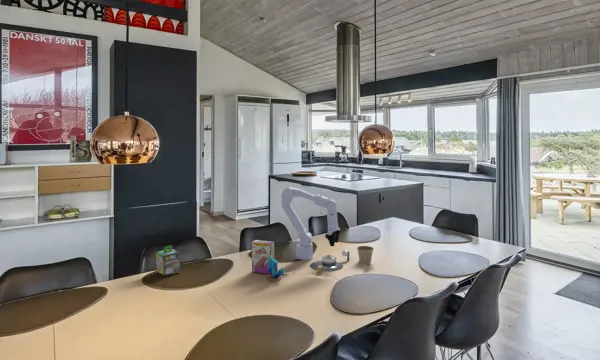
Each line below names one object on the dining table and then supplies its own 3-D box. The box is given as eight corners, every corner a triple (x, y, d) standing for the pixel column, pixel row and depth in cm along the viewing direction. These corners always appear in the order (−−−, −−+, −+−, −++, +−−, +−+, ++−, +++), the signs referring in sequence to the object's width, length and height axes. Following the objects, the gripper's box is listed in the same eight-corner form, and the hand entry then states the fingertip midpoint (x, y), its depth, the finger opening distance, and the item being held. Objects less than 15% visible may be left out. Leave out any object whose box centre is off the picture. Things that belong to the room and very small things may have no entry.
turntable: (303, 271, 192) (302, 265, 191) (316, 259, 211) (316, 254, 210) (336, 276, 185) (336, 269, 185) (346, 263, 204) (346, 257, 204)
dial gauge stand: (342, 262, 208) (342, 250, 208) (343, 260, 212) (343, 248, 211) (350, 263, 206) (350, 251, 206) (352, 261, 210) (352, 249, 209)
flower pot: (373, 266, 201) (373, 250, 200) (356, 265, 203) (356, 250, 202) (373, 261, 210) (373, 246, 209) (357, 260, 212) (357, 245, 211)
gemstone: (270, 283, 178) (270, 259, 177) (264, 277, 186) (264, 254, 185) (284, 280, 181) (284, 257, 180) (278, 275, 189) (278, 252, 187)
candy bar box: (251, 272, 193) (250, 242, 191) (255, 269, 198) (255, 239, 196) (271, 274, 189) (270, 243, 188) (275, 271, 194) (274, 241, 192)
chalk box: (172, 268, 200) (171, 242, 198) (180, 273, 193) (179, 245, 192) (156, 273, 193) (154, 245, 192) (163, 277, 187) (162, 249, 185)
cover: (320, 264, 202) (319, 257, 201) (324, 260, 209) (324, 253, 209) (334, 266, 199) (334, 258, 198) (338, 261, 206) (338, 254, 206)
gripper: (335, 223, 201) (337, 248, 202) (342, 218, 214) (344, 240, 216) (323, 223, 204) (325, 247, 205) (331, 218, 217) (332, 240, 218)
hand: (334, 244), depth 211 cm, fingers open, 7 cm apart
